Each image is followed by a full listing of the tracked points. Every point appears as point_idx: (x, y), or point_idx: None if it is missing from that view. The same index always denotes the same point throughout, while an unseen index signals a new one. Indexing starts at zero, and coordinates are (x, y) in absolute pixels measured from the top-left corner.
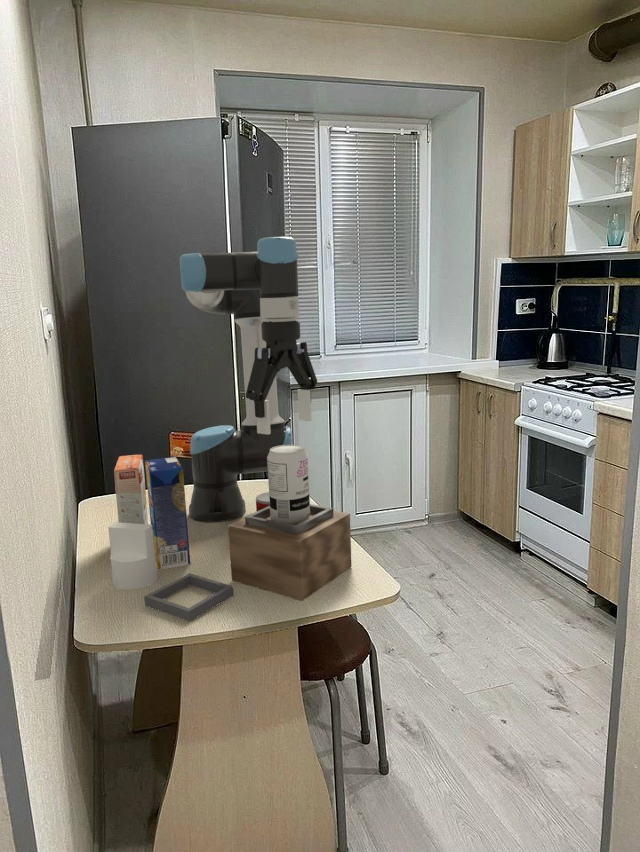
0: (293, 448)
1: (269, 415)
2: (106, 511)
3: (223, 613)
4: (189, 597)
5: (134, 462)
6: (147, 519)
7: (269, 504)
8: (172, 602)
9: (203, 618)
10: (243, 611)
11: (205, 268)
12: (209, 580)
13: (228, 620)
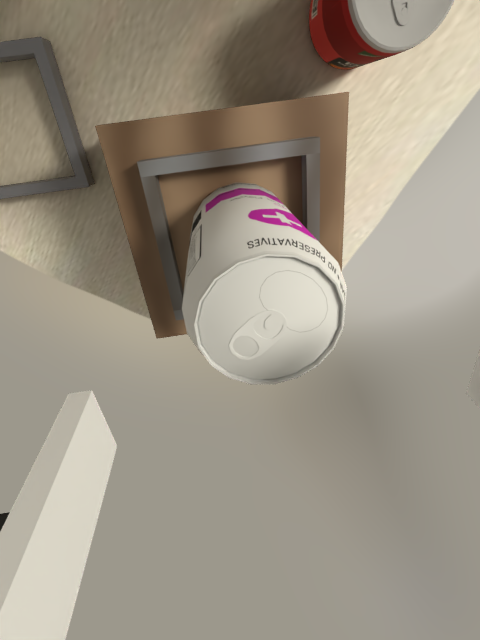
0: (298, 331)
1: (85, 554)
2: None
3: (46, 221)
4: (18, 112)
5: None
6: None
7: (351, 19)
8: None
9: (8, 208)
10: (77, 242)
11: None
12: (62, 121)
13: (42, 246)
